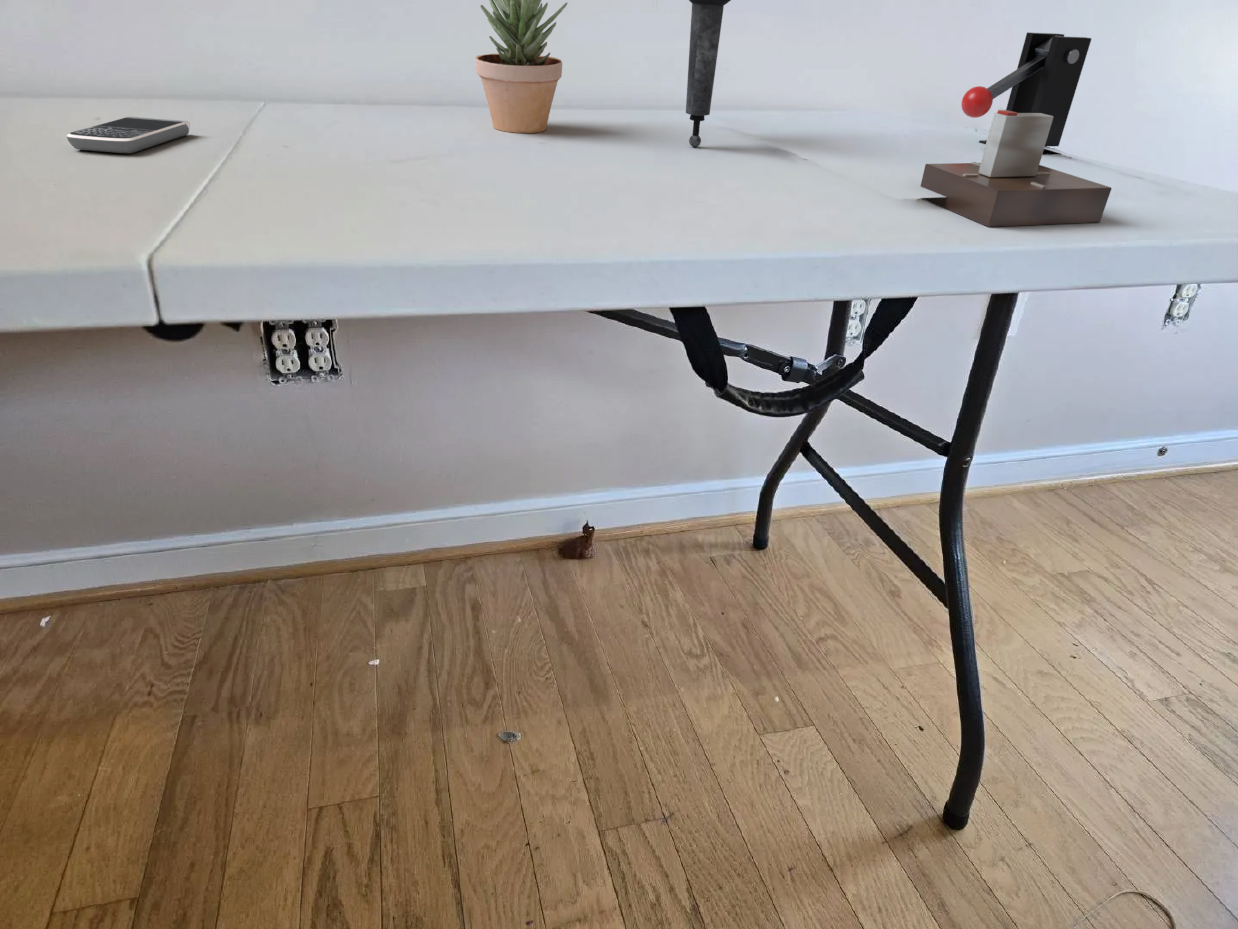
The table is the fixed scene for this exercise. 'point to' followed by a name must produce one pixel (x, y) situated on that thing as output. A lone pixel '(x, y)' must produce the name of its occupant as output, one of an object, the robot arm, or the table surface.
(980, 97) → the switch lever
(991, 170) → the grey block
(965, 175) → the brown flat block
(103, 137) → the cell phone
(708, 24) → the dark grey tapered rod
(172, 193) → the table surface
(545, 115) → the potted plant
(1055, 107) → the bracket
